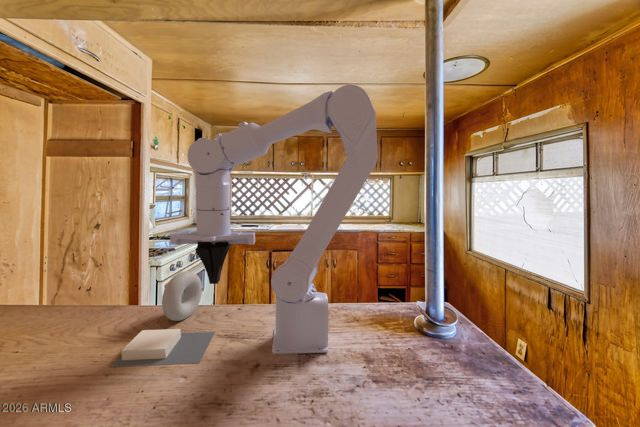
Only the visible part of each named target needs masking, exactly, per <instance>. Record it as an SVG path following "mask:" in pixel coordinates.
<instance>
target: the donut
mask: <svg viewBox="0 0 640 427" xmlns="http://www.w3.org/2000/svg"><path fill="white" fill-rule="evenodd" d="M202 292H203V284H202V281H201V278H200V276H198V275H197V274H196V272H193V271H190V270H185V271H180V272H179V273H176V274H175V275H173V277H172V278H171V279H170V280H169V281H168V283H167V284H166V285H165V288H164V289H163V293H162V299H161V307H162V312H163V313H164V315H165V317H166V318H167V319H169V320H171V321H172V322H181V321H184V320H185V319H188V318H189V317H190V316H191V315H192V314H193V313H194V312H195V311H196V309H197V308H198V306H199V304H200V302H201V298H202V296H203V295H202V294H203V293H202ZM183 293H184V296H183ZM182 296H183V298H182Z"/></svg>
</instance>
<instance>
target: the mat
mask: <svg viewBox="0 0 640 427" xmlns="http://www.w3.org/2000/svg"><path fill="white" fill-rule="evenodd" d="M215 333H216V331H202V332H201V331H199V332H195V331H194V332H181V338H180V339H179V341H178V342H177V343H176V345H175V346H174V348H173V349H172V350H171V352H170V353H169V355H168V356H167V357H166V358H163V359H140V360H122V354H120V356H118V358H116V360H115V361H114V362H113V363H112V364H111V365H110V366H109V368H120V367H121V368H122V367H144V366H145V367H146V366H168V365H189V364H190V365H191V364H192V365H193V364H200V363H201V360H202V359H203V356H204V355H205V354H206V351H207V349H208V347H209V346H210V343H211V341H212V339H213V337H214V335H215Z"/></svg>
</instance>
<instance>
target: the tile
mask: <svg viewBox="0 0 640 427" xmlns="http://www.w3.org/2000/svg"><path fill="white" fill-rule="evenodd" d="M181 333H182V332H181V328H171V329H170V328H168V329H163V328H162V329H142V330H141V331H140V332H139V333H138V334H137V335H136V336H135V337H133V339H131V341H129V342H128V343H127V345H125V347H123V348H122V350H121V355H122V360H140V359H163V358H166V357H167V356H168V355H169V353H170V352H171V350H172V349H173V348H174V346H175V345H176V343H177V342H178V341H179V339H180V338H181Z"/></svg>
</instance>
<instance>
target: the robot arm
mask: <svg viewBox="0 0 640 427" xmlns="http://www.w3.org/2000/svg"><path fill="white" fill-rule="evenodd" d="M376 112H377V111H376V110H375V108H374V105H373V102H372V100H371V97H370V96H369V93H367V91H366V89H364V88H363V87H361V86H359V85H357V84H345V85H342V86H340V87H338V88H336V90H334V92H333V90H330V91H326V92H323V93H321V95H319V96H317V97H316V98H314V99H312V100H310V101H309V102H307V103H305V104H303V105H300V106H299V107H297V108H295V109H293V110H291V111H289V112H287V113H285V114H282V115H281V116H279V117H276V118H275V119H273V120H271V121H269V122H267V123H265V124H263V125H259V124H257V123H255V122H246V121H241V122H239V123H238V125H237V126H238V128H235V129H233V130H230V131H228V132H226V133H223V134H222V133H217V134H215V135H214V138H213V139H209V138H206V137H199V138H198V139H197V140H196V141H193V142H192V143H191V144H190V146H189V148H188V150H187V161H188V162H187V163H188V164H189V166H190V167H191V169H193V171H194V176H195V182H194V183H195V215H196V217H195V218H196V231H179V232H175V231H174V232H172V233H170V234H169V243H170V245H172V246H174V245H175V246H176V245H196V246H197V247H195V253H196V254H197V256H198V257H199V259H200V261H201V262H202V265H203V267H204V269H205V272H206V274H207V278H208V282H209V284H210V285H216V284H217V285H218V284H219V283H220V282H221V276H222V271H223V266H224V263H225V260H226V257H227V256H228V252H229V251H230V249H231V246H232V245H235V244H237V245H239V244H240V245H241V244H242V245H244V244H245V245H246V244H247V245H252V246H253V245H255V243H256V232H253V231H252V232H247V231H232V230H231V193H230V192H231V190H230V189H231V186H230V181H231V180H230V179H231V173H232V172H233V170H234V168H236V167H238V166H241V165H244V164H245V163H249V162H250V161H253V160H256V159H258V158H261V157H262V156H266V155H267V153H268V151H269V150H270V146H272V145H273V144H275V143H279V142H282V141H283V140H286V139H290V138H292V137H295V136H298V135H300V134H303V133H306V132H309V131H312V130H317V131H319V132H325V133H328V134H329V133H330V134H332V132H333V131H332V130H333V129H332V127H333V128H334V129H335V130H336V133H337V135H339V138H340V139H341V141H342V145H343V148H344V152H345V154H346V159H345V161H344V162H343V165H342V166H341V168H340V170H339V171H338V173H337V175H336V176H335V178H334V179H333V182H332V184H331V185H330V188H329V189H328V191H327V193H326V194H325V197H324V198H323V200H322V201H321V203H320V204H319V207H318V208H317V209H316V212H315V213H314V215H313V217H312V219H311V221H310V222H309V224H308V226H307V228H306V230H305V231H304V233H303V235H302V237H301V239H300V240H299V241H298V242H297V244H296V246H295V247H294V249H293V251H292V252H291V253H290V255H289V256H288V257H287V259H286V260H285V261H284V262H283V263H282V264H281V265H279V266H278V267H276V269H275V270H274V271H273V273H272V275H271V279H270V283H271V288H272V291H273V292H274V294H275V326H274V329H273V339H272V346H271V347H272V348H271V354H273V355H279V354H281V355H283V354H284V355H285V354H300V355H301V354H317V353H318V354H319V353H321V354H322V353H328V352H329V346H328V345H329V314H330V313H329V298H328V294H327V293H326V292H320V291H317V289H316V285H314V283H313V280H314V279H315V278H316V276H317V274H318V270H319V262H320V259H321V258H322V256H323V254H324V253H325V251H326V249H327V247H328V245H329V244H330V242H331V241H332V238H334V236H335V234H336V232H337V231H338V229H339V228H340V226H341V224H342V222H343V221H344V218H345V217H346V215H347V213H348V212H349V210H350V208H351V207H352V205H353V203H354V202H355V200H356V198H357V196H358V194H359V193H360V191H361V190H362V188H363V187H364V185H365V183H366V182H367V179H368V178H369V176H370V175H371V173H372V171H373V170H374V168H375V166H376V165H377V162H378V160H379V159H378V158H379V153H378V151H379V150H378V136H377V135H378V134H377V113H376Z"/></svg>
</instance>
